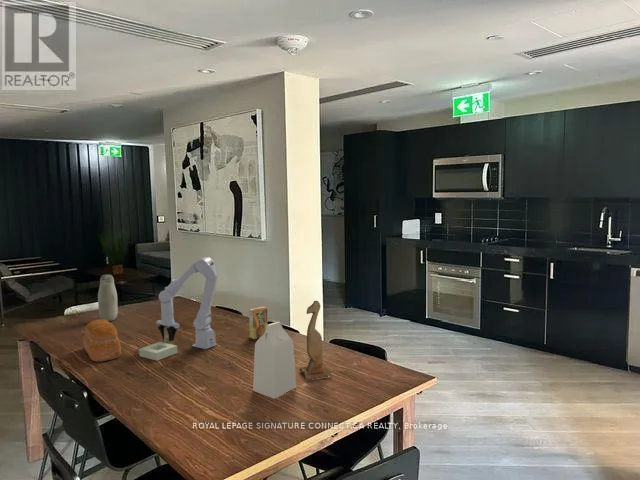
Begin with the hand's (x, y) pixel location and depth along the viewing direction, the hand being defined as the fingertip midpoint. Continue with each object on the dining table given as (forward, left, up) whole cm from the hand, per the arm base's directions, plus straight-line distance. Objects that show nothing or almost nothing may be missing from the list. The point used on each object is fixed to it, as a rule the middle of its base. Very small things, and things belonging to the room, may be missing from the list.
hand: (168, 340), depth 233 cm
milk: (-78, +16, -3) cm, 80 cm away
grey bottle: (+67, -13, -3) cm, 68 cm away
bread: (+18, +24, -3) cm, 30 cm away
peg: (0, 0, -2) cm, 2 cm away
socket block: (-7, +12, -2) cm, 14 cm away
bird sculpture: (-84, -4, -3) cm, 84 cm away
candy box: (-31, -33, -3) cm, 45 cm away
